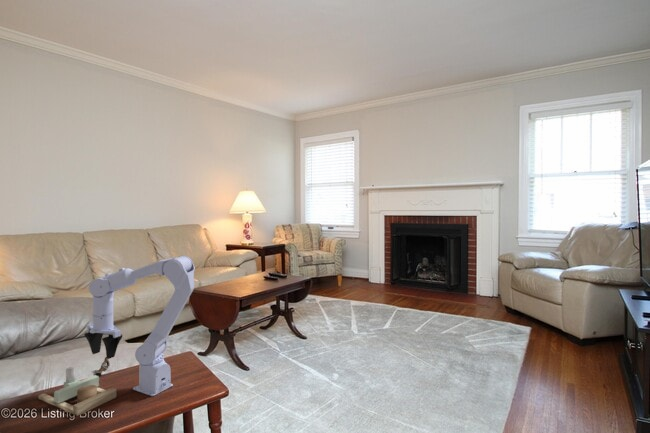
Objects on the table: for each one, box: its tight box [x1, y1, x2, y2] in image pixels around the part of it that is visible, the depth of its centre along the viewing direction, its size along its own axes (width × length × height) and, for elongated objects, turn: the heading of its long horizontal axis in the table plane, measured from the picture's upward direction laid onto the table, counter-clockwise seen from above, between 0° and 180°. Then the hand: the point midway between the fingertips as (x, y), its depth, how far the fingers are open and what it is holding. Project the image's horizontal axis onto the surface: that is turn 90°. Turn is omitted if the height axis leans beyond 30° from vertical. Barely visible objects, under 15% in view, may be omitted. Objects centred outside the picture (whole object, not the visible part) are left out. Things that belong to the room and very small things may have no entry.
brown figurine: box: [94, 356, 111, 377], centre depth 132 cm, size 2×8×4 cm, turn 7°
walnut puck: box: [76, 385, 98, 404], centre depth 111 cm, size 5×5×4 cm
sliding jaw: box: [53, 366, 100, 403], centre depth 114 cm, size 6×12×7 cm, turn 154°
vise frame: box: [38, 386, 117, 417], centre depth 113 cm, size 20×12×2 cm, turn 64°
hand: (103, 355), depth 120 cm, fingers open, 7 cm apart
